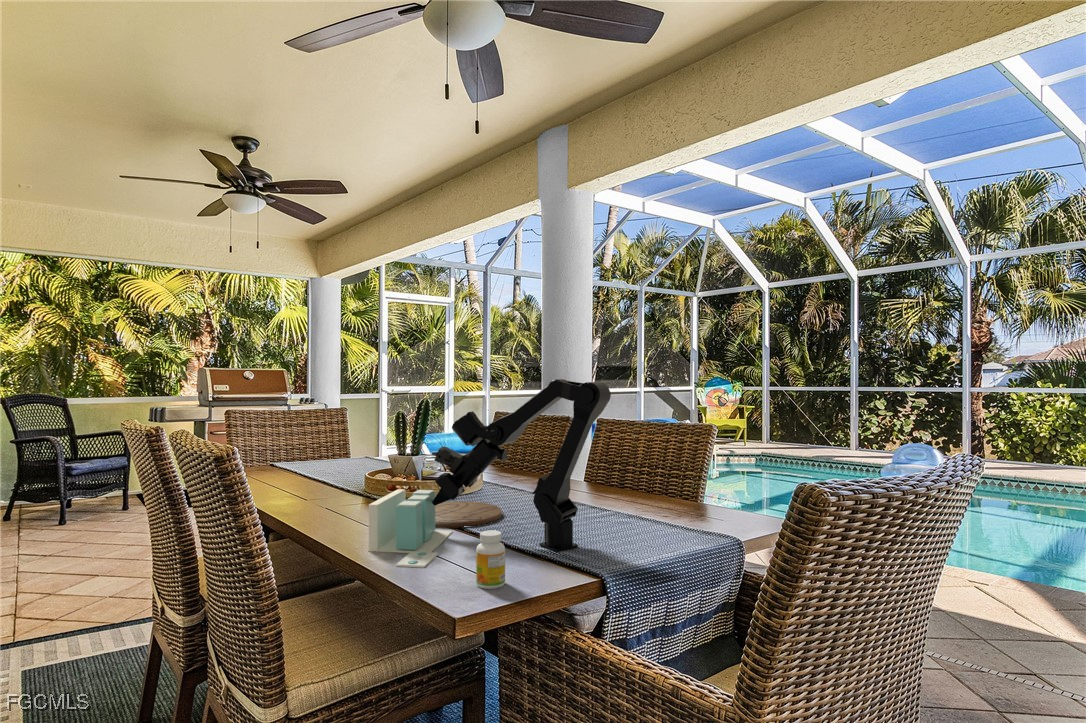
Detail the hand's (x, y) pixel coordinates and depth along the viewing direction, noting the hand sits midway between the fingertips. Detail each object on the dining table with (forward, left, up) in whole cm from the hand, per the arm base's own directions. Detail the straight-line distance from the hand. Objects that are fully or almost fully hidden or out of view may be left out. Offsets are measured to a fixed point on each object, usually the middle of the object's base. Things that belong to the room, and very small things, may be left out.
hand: (433, 503), depth 156 cm
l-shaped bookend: (-3, +7, -7) cm, 10 cm away
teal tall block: (-8, +10, -7) cm, 15 cm away
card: (-17, +13, -7) cm, 22 cm away
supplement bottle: (-39, +8, -8) cm, 41 cm away
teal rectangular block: (+2, +2, -7) cm, 8 cm away
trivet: (+13, -14, -8) cm, 20 cm away
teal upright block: (-4, +6, -7) cm, 10 cm away
